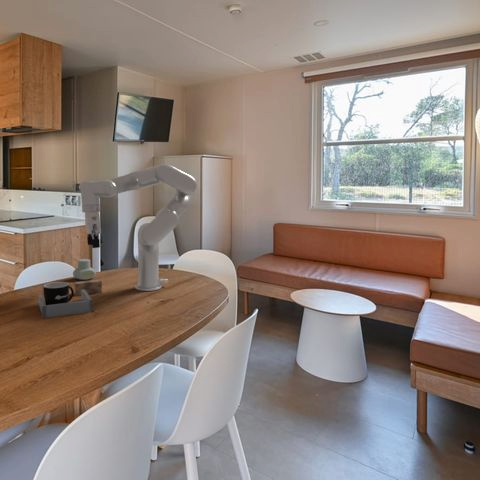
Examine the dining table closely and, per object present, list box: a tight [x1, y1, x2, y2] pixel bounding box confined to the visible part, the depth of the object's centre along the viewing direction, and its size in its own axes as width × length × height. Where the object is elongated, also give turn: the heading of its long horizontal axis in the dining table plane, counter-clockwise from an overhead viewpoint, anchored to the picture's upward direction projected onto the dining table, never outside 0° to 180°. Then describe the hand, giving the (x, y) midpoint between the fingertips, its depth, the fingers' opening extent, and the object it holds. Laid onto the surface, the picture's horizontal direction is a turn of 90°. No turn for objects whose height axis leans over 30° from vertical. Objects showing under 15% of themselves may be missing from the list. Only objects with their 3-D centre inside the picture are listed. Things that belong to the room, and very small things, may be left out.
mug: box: [42, 281, 75, 305], centre depth 149 cm, size 12×9×10 cm
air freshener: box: [72, 258, 97, 281], centre depth 194 cm, size 11×8×10 cm
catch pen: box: [38, 289, 94, 319], centre depth 150 cm, size 17×17×4 cm
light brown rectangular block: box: [73, 279, 103, 296], centre depth 171 cm, size 11×4×6 cm, turn 122°
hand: (93, 246), depth 171 cm, fingers open, 9 cm apart
